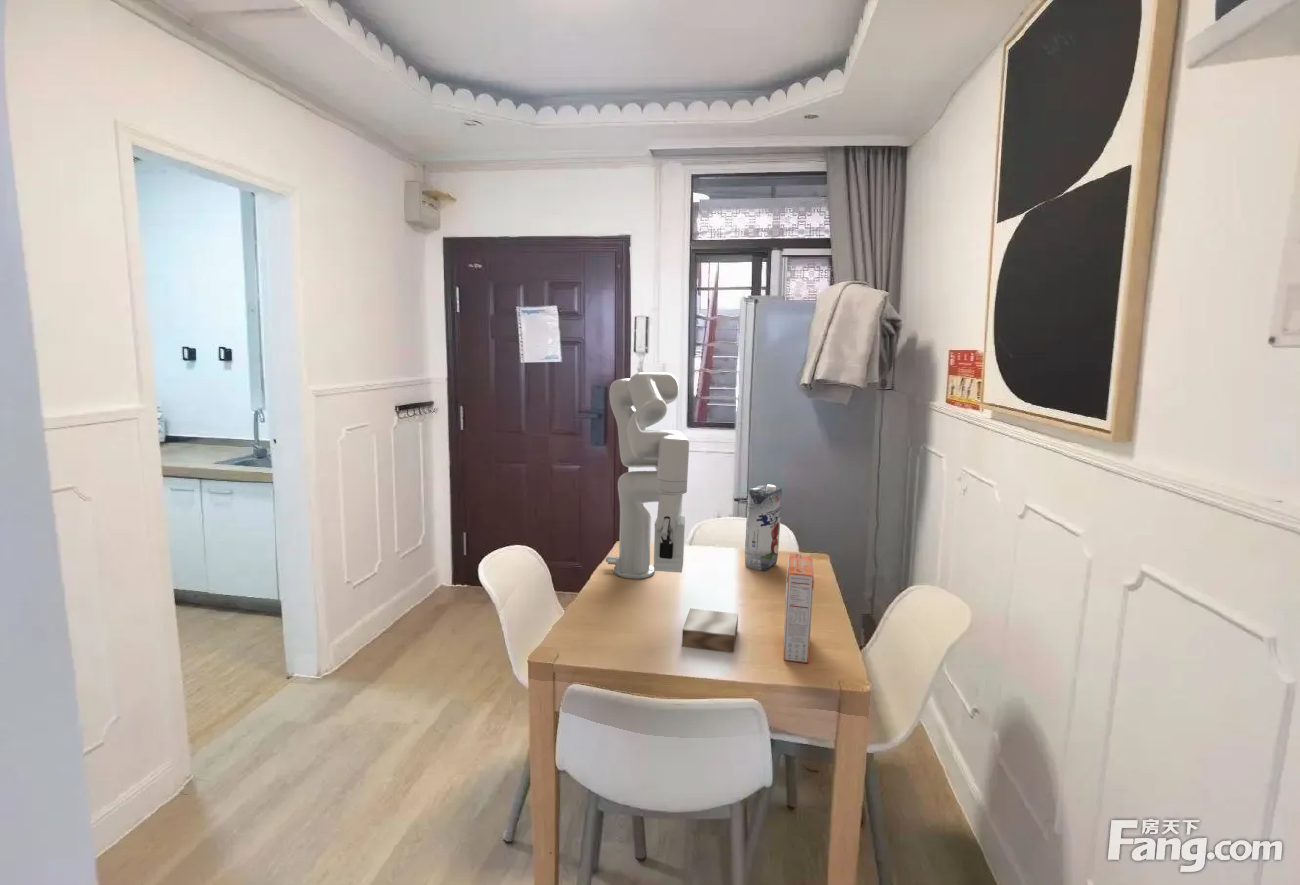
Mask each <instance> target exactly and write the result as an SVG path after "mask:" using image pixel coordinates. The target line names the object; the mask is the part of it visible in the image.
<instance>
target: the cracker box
mask: <svg viewBox="0 0 1300 885" xmlns="http://www.w3.org/2000/svg"><path fill="white" fill-rule="evenodd" d="M813 563H814V561H813V555H808V554H807V555H806V554H796V553H789V554H788V559H787V568H786V569H787V570H786V586H785V587H786V588H785V599H784V600H785V604H784V605H785V606H784V626H783V628H784V629H783V661H786V662H787V661H788V662H792V663H793V662H794V663H795V662H796V663H802V664H809V662H810V645H811V631H812V628H811V627H812V612H813V598H814V597H813V596H814V583H815V575H814V564H813Z"/></svg>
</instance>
